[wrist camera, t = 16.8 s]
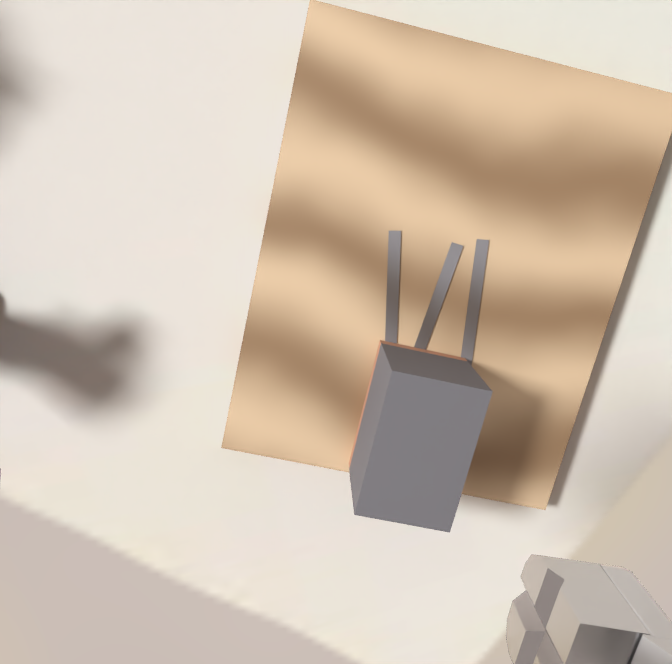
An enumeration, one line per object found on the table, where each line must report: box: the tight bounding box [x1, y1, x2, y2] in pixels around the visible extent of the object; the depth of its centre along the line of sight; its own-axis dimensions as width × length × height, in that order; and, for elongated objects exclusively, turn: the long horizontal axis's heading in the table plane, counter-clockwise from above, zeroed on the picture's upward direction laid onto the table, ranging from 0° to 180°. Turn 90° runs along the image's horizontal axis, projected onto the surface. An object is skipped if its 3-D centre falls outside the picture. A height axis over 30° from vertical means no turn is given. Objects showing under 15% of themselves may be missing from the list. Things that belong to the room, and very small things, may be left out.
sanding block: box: [349, 340, 493, 532], centre depth 29 cm, size 7×4×5 cm, turn 167°
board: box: [221, 0, 672, 510], centre depth 31 cm, size 22×18×1 cm
